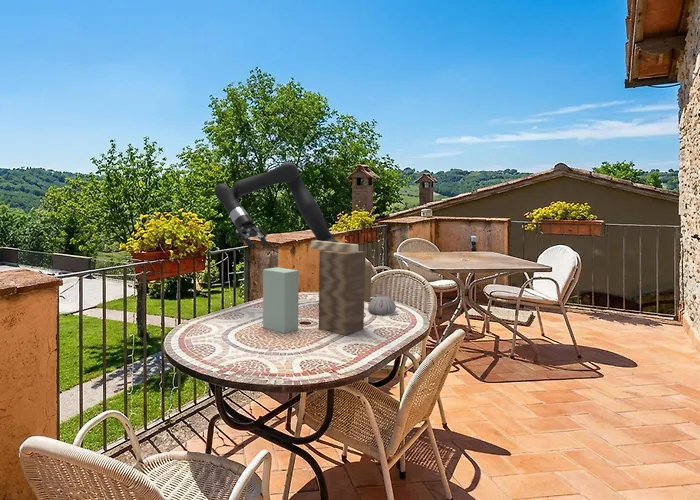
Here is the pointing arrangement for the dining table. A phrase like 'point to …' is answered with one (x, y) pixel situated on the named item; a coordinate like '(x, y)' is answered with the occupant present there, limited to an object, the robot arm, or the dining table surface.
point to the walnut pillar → (341, 291)
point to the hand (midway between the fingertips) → (259, 246)
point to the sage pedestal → (280, 299)
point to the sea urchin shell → (382, 305)
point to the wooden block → (367, 281)
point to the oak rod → (334, 246)
